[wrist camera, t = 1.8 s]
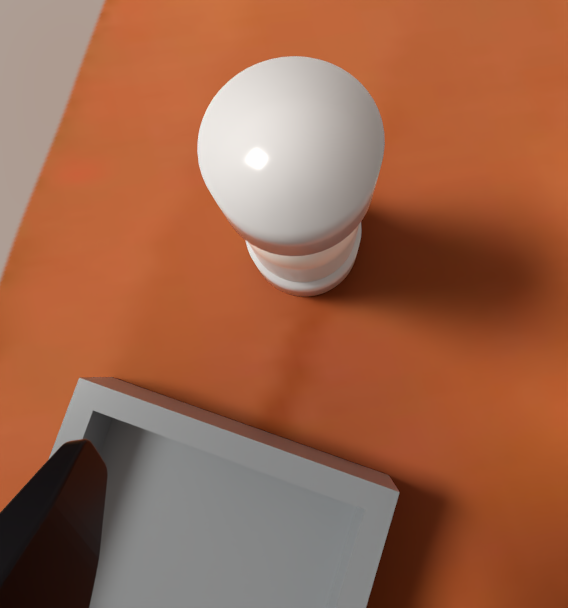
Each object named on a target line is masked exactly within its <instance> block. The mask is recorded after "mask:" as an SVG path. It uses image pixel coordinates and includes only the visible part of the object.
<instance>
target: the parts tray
mask: <svg viewBox="0 0 568 608" xmlns="http://www.w3.org/2000/svg"><path fill="white" fill-rule="evenodd" d="M80 439H88V440H90V441H91V442H92V444H93V445H94V447H95V448H96V450H97V451H98V453H99V455H100V456H101V458H102V459H103V461H104V462H105V464H106V467H107V471H108V479H107V489H106V499H105V509H104V519H103V529H102V539H101V548H100V556H99V562H98V568H97V573H96V578H95V583H94V588H93V592H92V597H91V602H90V607H89V608H366V606H367V603H368V599H369V596H370V592H371V589H372V585H373V582H374V579H375V575H376V572H377V568H378V565H379V561H380V558H381V555H382V551H383V548H384V544H385V541H386V537H387V534H388V531H389V527H390V524H391V520H392V517H393V513H394V510H395V507H396V503H397V500H398V496H399V493H400V492H399V490H398V489H397V487H396V486H395V484H394V483H393V481H392V479H391V478H390V476H389V475H387V474H384V473H381V472H379V471H376V470H373V469H370V468H367V467H365V466H362V465H359V464H356V463H353V462H350V461H348V460H345V459H342V458H339V457H336V456H333V455H331V454H328V453H325V452H322V451H319V450H317V449H314V448H311V447H308V446H305V445H302V444H300V443H297V442H294V441H291V440H288V439H285V438H283V437H280V436H277V435H274V434H271V433H268V432H266V431H263V430H260V429H257V428H254V427H252V426H249V425H246V424H243V423H240V422H237V421H235V420H232V419H229V418H226V417H223V416H220V415H218V414H215V413H212V412H209V411H206V410H204V409H201V408H198V407H195V406H192V405H189V404H187V403H184V402H181V401H178V400H175V399H172V398H170V397H167V396H164V395H161V394H158V393H156V392H153V391H150V390H147V389H144V388H141V387H139V386H136V385H133V384H130V383H127V382H124V381H122V380H119V379H116V378H113V377H93V378H79V380H78V383H77V385H76V388H75V391H74V393H73V396H72V399H71V401H70V404H69V407H68V409H67V412H66V415H65V417H64V420H63V423H62V425H61V428H60V431H59V433H58V436H57V439H56V441H55V444H54V447H53V449H52V452H51V455H50V457H49V459H50V458H51V456H52V455H53V454H54V453H55V452H56V451H57V450H58V449H59V448H60V447H61V446H62V445H63V444H64V443H66V442H68V441H73V440H80Z"/></svg>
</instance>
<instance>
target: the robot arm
mask: <svg viewBox="0 0 568 608" xmlns="http://www.w3.org/2000/svg"><path fill="white" fill-rule="evenodd" d="M107 479H108V471H107V467H106V464H105V462H104V461H103V459H102V458H101V456H100V455H99V453H98V451H97V450H96V448H95V447H94V445H93V444H92V442H91V441H90V440H88V439H80V440H73V441H68V442H66V443H64V444H63V445H62V446H61V447H60V448H59V449H58V450H57V451H56V452H55V453H54V454H53V455H52V456H51V458H50V459H49V460H48V461H47V462H46V463H45V464H44V465H43V466H42V467H41V469H40V470H39V471H38V472H37V473H36V474H35V475H34V476H33V477H32V478H31V480H30V481H29V482H28V483H27V484H26V485H25V486H24V487H23V488H22V489H21V490H20V492H19V493H18V494H17V495H16V496H15V497H14V498H13V499H12V500H11V501H10V503H9V504H8V505H7V506H6V507H5V508H4V509H3V510H2V511H1V512H0V608H89V607H90V602H91V597H92V592H93V588H94V583H95V578H96V573H97V568H98V562H99V556H100V548H101V539H102V529H103V519H104V509H105V499H106V489H107Z"/></svg>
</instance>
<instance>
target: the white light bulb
mask: <svg viewBox="0 0 568 608" xmlns="http://www.w3.org/2000/svg"><path fill="white" fill-rule="evenodd" d="M384 145H385V142H384V129H383V123H382V119H381V116H380V113H379V110H378V108H377V106H376V104H375V102H374V100H373V98H372V97H371V95H370V94H369V93H368V91H367V90H366V89H365V88H364V86H363V85H362V84H361V83H360V82H359V81H358V80H357V79H355V78H354V77H353V76H352V75H351V74H349V73H348V72H346V71H345V70H343V69H341V68H340V67H338V66H335V65H333V64H331V63H329V62H326V61H322V60H319V59H314V58H309V57H298V56H292V57H280V58H275V59H270V60H267V61H264V62H260V63H258V64H256V65H253V66H251V67H249V68H247V69H245V70H244V71H242V72H240V73H239V74H237V75H236V76H235V77H233V78H232V79H231V80H230V81H228V82H227V83H226V84H225V85H224V86H223V87H222V88H221V89H220V91H219V92H218V93H217V94H216V96H215V97H214V98H213V100H212V101H211V103H210V105H209V106H208V108H207V110H206V113H205V115H204V117H203V120H202V123H201V126H200V130H199V136H198V160H199V166H200V170H201V174H202V176H203V179H204V181H205V184H206V186H207V187H208V189H209V191H210V192H211V194H212V196H213V197H214V199H215V201H216V202H217V204H218V205H219V207H220V209H221V210H222V212H223V213H224V215H225V217H226V218H227V220H228V221H229V223H230V224H231V226H232V227H233V228H234V229H235V231H236V232H237V233H238V234H239V235H240V236H241V237H242V238H243V239H245V240H246V244H247V248H248V251H249V253H250V256H251V258H252V259H253V261H254V263H255V264H256V266H257V267H258V269H259V271H260V272H261V274H262V275H263V276H264V278H265V279H266V280H267V281H268V282H269V283H270V284H271V285H272V286H274V287H275V288H276V289H278V290H280V291H282V292H284V293H287V294H290V295H294V296H301V297H307V296H316V295H319V294H323V293H325V292H327V291H330V290H331V289H333V288H335V287H336V286H337V285H339V284H340V283H341V282H342V281H343V280H344V279H345V278H346V276H347V275H348V274H349V272H350V271H351V269H352V267H353V265H354V262H355V259H356V256H357V252H358V248H359V244H360V240H361V232H362V230H361V221H362V220H363V218H364V216H365V214H366V213H367V211H368V208H369V206H370V203H371V200H372V197H373V193H374V189H375V186H376V182H377V178H378V175H379V171H380V167H381V163H382V159H383V154H384Z"/></svg>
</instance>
